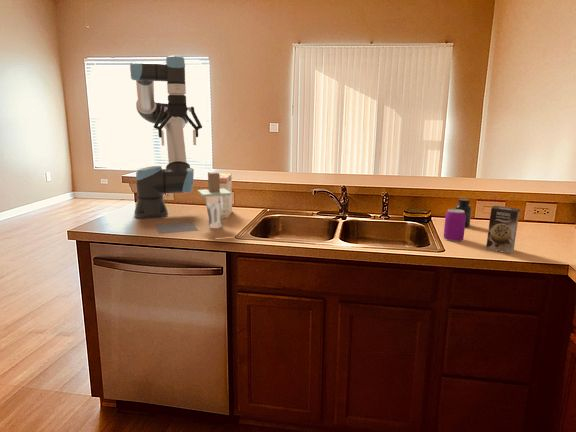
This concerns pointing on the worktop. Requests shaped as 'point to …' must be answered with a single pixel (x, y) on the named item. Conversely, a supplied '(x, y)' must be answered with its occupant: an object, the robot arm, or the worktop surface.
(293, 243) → the worktop surface
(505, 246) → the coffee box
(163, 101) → the robot arm
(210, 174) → the lid
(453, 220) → the beverage can
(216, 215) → the beer glass
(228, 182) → the coffeecake box
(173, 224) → the mat
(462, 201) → the supplement bottle
